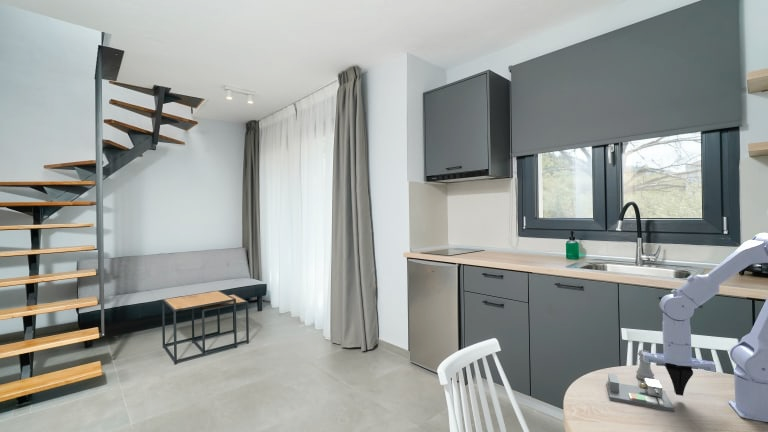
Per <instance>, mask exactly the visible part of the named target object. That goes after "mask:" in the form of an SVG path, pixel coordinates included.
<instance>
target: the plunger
mask: <svg viewBox="0 0 768 432" xmlns="http://www.w3.org/2000/svg"><path fill="white" fill-rule="evenodd" d="M638 385H639V387H640V388H641V389H646V391H647V393H648V395H650V396H656V397H662V398H663V394H662V390H663V387H662V384H661V382H660V381H659V380H658V379H648V378H645V381H644V382H638Z"/></svg>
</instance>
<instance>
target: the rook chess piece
mask: <svg viewBox="0 0 768 432" xmlns="http://www.w3.org/2000/svg"><path fill="white" fill-rule="evenodd" d="M643 353H650V351H648V350H646V349H645V350H644V349H643V350H642V349H640V350H639V351H638V352H637V355H638V356H639V358H638V360H639V366H638V368H637V370H636V372H635V373H636V377H637V378H638V379H639V380H641V381H644V382H645V378H648V379H654V380H656V379H655V377H654V376H655V374H654V373H653V370H652V369H651V364H650V363H651V362H649V363H646V362H644V361H643Z"/></svg>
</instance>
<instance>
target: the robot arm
mask: <svg viewBox="0 0 768 432" xmlns="http://www.w3.org/2000/svg"><path fill="white" fill-rule="evenodd" d="M765 263H767V264H768V231H766V232H760V233H757V234H756V235H754V236H753V237H752V238H751V239H749V240H747V241H745V242H743V243H742V244H741V245H740V246H739V247H738V248H737V249H735V250H734V251H733V252H732V253H731V254H729V255H728V256H727V257H726V258H724V259H723V260H722V261H721V262H719V264H717V265H716V266H715V267H714V268H712V269H711V270H710V271H709V272H708V273H706V274H696V275H694V276H692V275H690V276H688V277H687V278H686V280H687V281H686V282H684V284H682V285H681V286H680V287H678V288H677V289H673V288H672V290H671V291H670V292H671V293H670V294H666V295H664V296H663V297H662V298H661V299H660V302H659V303H658V306H659V308H660V310H661V311H662V345H663V346H662V348H663V349H662V351H663V352H662V353H643V361H644V362H646V363H649V362H650V363H654V364H660V365H664V367H665V369H666V372H667V373H668V375H669V377H670V380H671V383H672V386H673V391H674V393H675V395H676V396H682V397H683V396H684V392H685V389H686V386H687V384H688V382H689V381H690V379H691V378H692V376H694V370H693V369H697V370H704V371H705V370H706V371H709V372H713V373H716V372H717V371H716V369H717V368H716V363H714V361H710V360H705V359H700V358H699V359H698V358H696V357H695V358H694V357H693V354H692V330H691V329H692V328H691V319H690V318H693V316H694V313H695V309H698V308H699V307H700V306H702V305H703V304H704V303H706V302H708V301H709V300H710V299H712V298H713V297H714V296H716V295H717V294H719V293H720V285H721V284H723V283H724V282H725V281H728V280H729V279H730V278H731V277H733V276H734V275H737V273H738V274H739V272H742V271H743V270H744V269H746V268H747V267H749V266H751V265H757V264H765ZM729 356H730V360H731V361H732V362H733V363H734V364H736V365H735V368H734V369H733V376H734V378H733V380H734V400H728V401H727V402H728V404H729V405H730V406H731V408H733V410H734V411H735V412H736V413H737V415H738V416H739V417H740V418H743V419H747V420H755V421H759V422H765V423H768V296H767V297H766V300H765V301H764V304H763V306H762V308H761V310H760V312H759V313H758V316H757V317H756V320H755V322H754V325H753V326H752V328H751V331H750V332H749V333H747V334H746V335H744V336H742V337H741V339H740V341H739V342H738V343H736V344H735V345H733V346H732V347H731V348H730V351H729Z"/></svg>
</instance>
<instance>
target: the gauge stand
mask: <svg viewBox="0 0 768 432" xmlns="http://www.w3.org/2000/svg"><path fill="white" fill-rule="evenodd" d="M607 375H608V377H607V378H608V380H606V388H607V393H608V397H609V400H610V401H616V402H621V403H626V404H629V405H630V404H631V405H636V406H637V405H638V406H641V407H647V408H653V409H658V410H663V411H668V412H674V413H675V412H676V410H675V406H674V405H673V403H672V401H671V399H670V398H669V395H668V394H667V392H666V391H665V389H664V390H663V389H662V394H663V398H662V397H656V396H650V395H648V393H647V391H646V389H641V388H640V387H639V386H638V385H632V384H625V383H620V382H619V379H618V374H617V373H609V372H608V373H607Z"/></svg>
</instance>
